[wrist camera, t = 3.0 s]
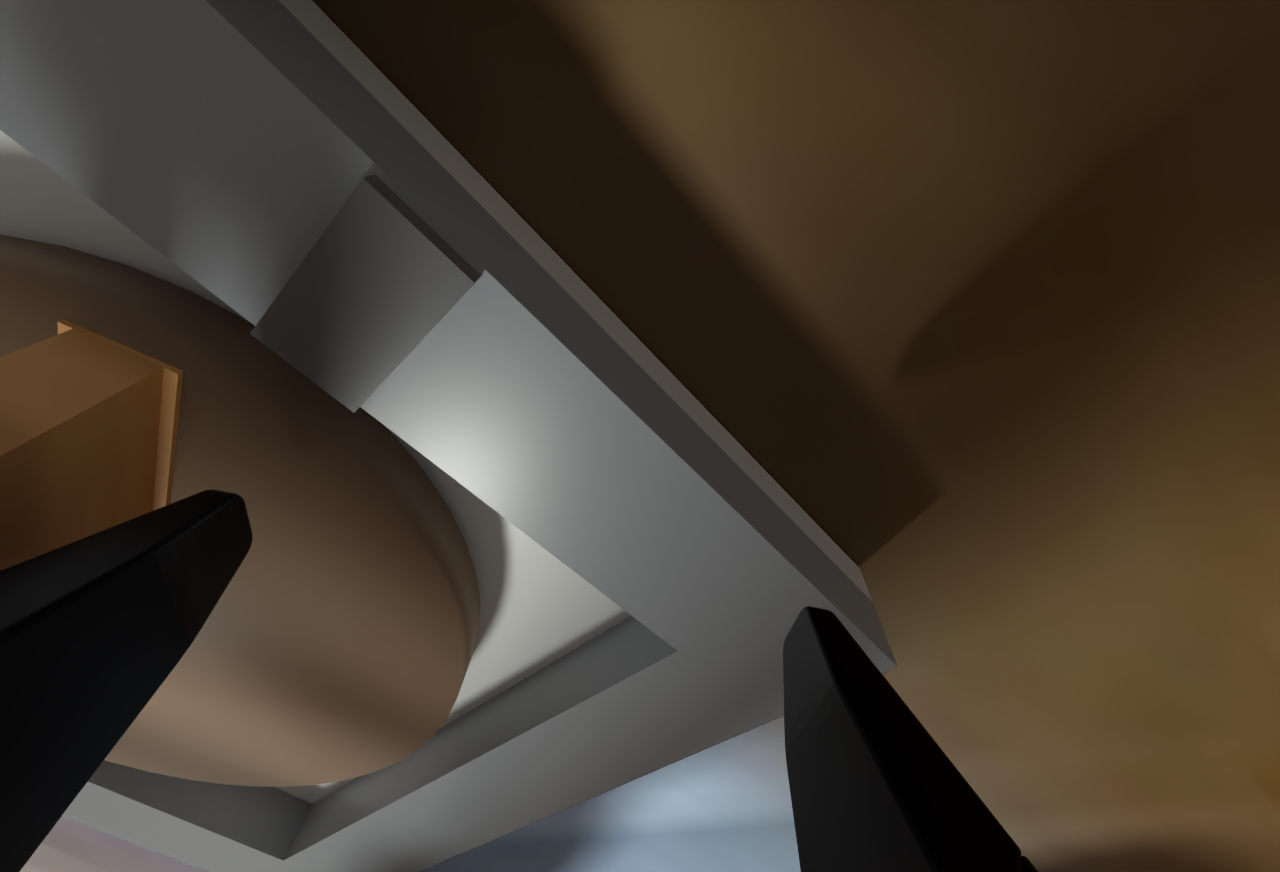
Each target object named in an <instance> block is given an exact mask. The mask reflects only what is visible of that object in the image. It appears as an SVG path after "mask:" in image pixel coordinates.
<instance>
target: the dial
mask: <svg viewBox="0 0 1280 872" xmlns="http://www.w3.org/2000/svg"><path fill="white" fill-rule="evenodd" d="M254 327H255V326H254V325H253V324H252V323H250V322H249V321H247V320H245V319H243V318H241V317H239V316H238V315H236V314H234V313H232V312H230V311H228V310H226V309H224V308H222V307H220V306H218V305H216V304H214V303H213V302H211V301H209V300H207V299H205V298H203V297H201V296H199V295H197V294H195V293H193V292H191V291H190V290H187V289H185V288H182V287H180V286H177V285H175V284H172V283H170V282H168V281H165V280H163V279H160V278H158V277H155V276H153V275H150V274H148V273H146V272H143V271H141V270H138V269H136V268H133V267H131V266H128V265H125V264H122V263H119V262H115V261H112V260H109V259H105V258H102V257H99V256H95V255H92V254H89V253H85V252H82V251H79V250H75V249H72V248H69V247H65V246H60V245H55V244H49V243H44V242H39V241H33V240H28V239H22V238H17V237H11V236H6V235H0V571H1V570H4V569H6V568H9V567H11V566H14V565H16V564H19V563H22V562H24V561H27V560H29V559H32V558H34V557H37V556H39V555H42V554H44V553H47V552H49V551H52V550H55V549H57V548H60V547H62V546H65V545H67V544H70V543H72V542H75V541H77V540H80V539H82V538H85V537H88V536H90V535H93V534H95V533H98V532H100V531H103V530H105V529H108V528H110V527H113V526H115V525H118V524H121V523H123V522H126V521H128V520H131V519H133V518H136V517H138V516H141V515H143V514H146V513H148V512H151V511H154V510H156V509H159V508H161V507H164V506H166V505H169V504H171V503H174V502H176V501H179V500H182V499H184V498H187V497H189V496H192V495H194V494H197V493H199V492H202V491H205V490H210V489H214V490H220V491H225V492H230V493H235V494H238V495H240V496H241V497H242V498H243V499H244V501H245V505H246V509H247V513H248V517H249V521H250V525H251V530H252V535H253V537H252V544H251V547H250V550H249V552H248V553H247V555H246V557H245V558H244V560H243V562H242V563H241V565H240V567H239V568H238V570H237V571H236V573H235V575H234V576H233V578H232V580H231V581H230V583H229V585H228V586H227V588H226V589H225V591H224V593H223V594H222V596H221V598H220V599H219V601H218V602H217V604H216V606H215V607H214V609H213V611H212V612H211V614H210V616H209V617H208V619H207V620H206V622H205V624H204V625H203V627H202V629H201V630H200V632H199V633H198V635H197V636H196V638H195V639H194V641H193V642H192V644H191V646H190V647H189V648H188V650H187V651H186V652H185V654H184V655H183V657H182V658H181V659H180V661H179V662H178V663H177V665H176V666H175V667H174V669H173V670H172V671H171V673H170V674H169V675H168V677H167V678H166V679H165V681H164V682H163V683H162V684H161V686H160V687H159V688H158V690H157V691H156V692H155V694H154V695H153V696H152V698H151V699H150V700H149V702H148V703H147V704H146V706H145V707H144V708H143V710H142V711H141V712H140V713H139V715H138V716H137V717H136V719H135V720H134V721H133V723H132V724H131V725H130V727H129V728H128V729H127V731H126V732H125V733H124V735H123V736H122V737H121V738H120V740H119V741H118V742H117V744H116V745H115V746H114V748H113V749H112V750H111V752H110V753H109V754H108V756H107V757H106V758H105V760H106V761H109V762H112V763H116V764H120V765H124V766H128V767H132V768H136V769H140V770H144V771H148V772H153V773H157V774H162V775H167V776H172V777H177V778H182V779H189V780H196V781H203V782H210V783H217V784H228V785H240V786H255V787H290V786H306V785H317V784H324V783H330V782H337V781H343V780H347V779H351V778H355V777H359V776H363V775H366V774H370V773H372V772H375V771H378V770H380V769H383V768H385V767H388V766H390V765H393V764H395V763H396V762H398V761H400V760H402V759H403V758H405V757H407V756H409V755H410V754H412V753H414V752H415V751H416V750H418V749H419V748H420V747H421V746H422V745H424V744H425V743H426V742H427V741H428V740H430V739H431V738H432V737H433V736H434V735H435V733H436V732H437V731H438V730H439V728H440V727H441V726H442V725H443V723H444V722H445V721H446V720H447V718H448V716H449V714H450V712H451V710H452V708H453V706H454V704H455V702H456V700H457V697H458V694H459V691H460V689H461V686H462V683H463V680H464V678H465V675H466V672H467V669H468V666H469V664H470V661H471V658H472V655H473V652H474V649H475V644H476V640H477V636H478V632H479V627H480V596H479V590H478V584H477V578H476V571H475V568H474V566H473V563H472V560H471V557H470V554H469V551H468V548H467V545H466V542H465V539H464V537H463V535H462V533H461V531H460V529H459V527H458V525H457V523H456V521H455V519H454V517H453V515H452V513H451V512H450V510H449V508H448V506H447V504H446V502H445V501H444V499H443V498H442V497H441V495H440V494H439V492H438V491H437V489H436V488H435V486H434V485H433V483H432V482H431V480H430V479H429V477H428V476H427V475H426V473H425V472H424V470H423V469H422V467H421V466H420V465H419V464H418V463H417V462H416V460H415V459H414V458H413V457H412V456H411V455H410V453H409V452H408V451H407V450H406V449H405V448H404V447H403V445H402V444H401V443H400V442H399V441H398V440H397V438H396V437H395V436H394V435H393V434H392V433H391V431H390V430H389V429H388V428H387V427H385V426H384V425H383V424H382V423H381V422H379V421H378V420H377V419H375V418H374V417H373V416H371V415H370V414H369V413H368V412H366V411H365V410H364V409H362V408H361V407H359V408H358V409H357V410H356V411H355V412H354V413H353V412H352V411H351V410H349V409H348V408H347V407H345V406H344V405H343V404H341V403H340V402H339V401H337V400H336V399H335V398H334V397H332V396H331V395H330V394H328V393H327V392H326V391H324V390H323V389H322V388H320V387H319V386H318V385H316V384H315V383H314V382H313V381H311V380H310V379H309V378H307V377H306V376H305V375H303V374H302V373H301V372H299V371H298V370H297V369H295V368H294V367H293V366H291V365H290V364H289V363H288V362H286V361H285V360H284V359H282V358H281V357H280V356H278V355H277V354H276V353H274V352H273V351H272V350H270V349H269V348H268V347H267V346H265V345H264V344H263V343H261V342H260V341H259V340H257V339H256V338H255V337H253V336H252V335H251V334H250V333H251V331H252V330H253V329H254Z"/></svg>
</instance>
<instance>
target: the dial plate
mask: <svg viewBox="0 0 1280 872" xmlns="http://www.w3.org/2000/svg"><path fill="white" fill-rule="evenodd" d="M0 235H6V236H11V237H17V238H22V239H28V240H33V241H39V242H44V243H49V244H55V245H60V246H65V247H69V248H72V249H75V250H79V251H82V252H85V253H89V254H92V255H95V256H99V257H102V258H105V259H109V260H112V261H115V262H119V263H122V264H125V265H128V266H131V267H133V268H136V269H138V270H141V271H143V272H146V273H148V274H150V275H153V276H155V277H158V278H160V279H163V280H165V281H168V282H170V283H172V284H175V285H177V286H180V287H182V288H185V289H187V290H190V291H191V292H193V293H195V294H197V295H199V296H201V297H203V298H205V299H207V300H209V301H211V302H213V303H214V304H216V305H218V306H220V307H222V308H224V309H226V310H228V311H230V312H232V313H234V314H236V315H238V316H239V317H241V318H243V319H245V320H247V321H249V322H250V323H252V324H253V325H254V326H255V327H254V329H253V330H252V331H251V333H250V334H251V335H252V336H253V337H255V338H256V339H257V340H259V341H260V342H261V343H263V344H264V345H265V346H267V347H268V348H269V349H270V350H272V351H273V352H274V353H276V354H277V355H278V356H280V357H281V358H282V359H284V360H285V361H286V362H288V363H289V364H290V365H291V366H293V367H294V368H295V369H297V370H298V371H299V372H301V373H302V374H303V375H305V376H306V377H307V378H309V379H310V380H311V381H313V382H314V383H315V384H316V385H318V386H319V387H320V388H322V389H323V390H324V391H326V392H327V393H328V394H330V395H331V396H332V397H334V398H335V399H336V400H337V401H339V402H340V403H341V404H343V405H344V406H345V407H347V408H348V409H349V410H351V411H352V412H353V413H354V412H355V411H356V410H357V409H358V408H359V407H361V408H362V409H364V410H365V411H366V412H368V413H369V414H370V415H371V416H373V417H374V418H375V419H377V420H378V421H379V422H381V423H382V424H383V425H384V426H385V427H387V428H388V429H389V430H390V431H391V433H392V434H393V435H394V436H395V437H396V438H397V440H398V441H399V442H400V443H401V444H402V445H403V447H404V448H405V449H406V450H407V451H408V452H409V453H410V455H411V456H412V457H413V458H414V459H415V460H416V462H417V463H418V464H419V465H420V466H421V467H422V469H423V470H424V472H425V473H426V475H427V476H428V477H429V479H430V480H431V482H432V483H433V485H434V486H435V488H436V489H437V491H438V492H439V494H440V495H441V497H442V498H443V499H444V501H445V502H446V504H447V506H448V508H449V510H450V512H451V513H452V515H453V517H454V519H455V521H456V523H457V525H458V527H459V529H460V531H461V533H462V535H463V537H464V539H465V542H466V545H467V548H468V551H469V554H470V557H471V560H472V563H473V566H474V568H475V571H476V578H477V584H478V590H479V596H480V627H479V632H478V636H477V640H476V644H475V649H474V652H473V655H472V658H471V661H470V664H469V666H468V669H467V672H466V675H465V678H464V680H463V683H462V686H461V689H460V691H459V694H458V697H457V700H456V702H455V704H454V706H453V708H452V710H451V712H450V714H449V716H448V718H447V720H446V721H445V722H444V723H443V725H442V726H441V727H440V728H439V730H438V731H437V732H436V733H435V735H434V736H433V737H432V738H431V739H430V740H428V741H427V742H426V743H425V744H424V745H422V746H421V747H420V748H419V749H418V750H416V751H415V752H414V753H412V754H410V755H409V756H407V757H405V758H403V759H402V760H400V761H398V762H396V763H395V764H393V765H390V766H388V767H385V768H383V769H380V770H378V771H375V772H372V773H370V774H366V775H363V776H359V777H355V778H351V779H347V780H343V781H337V782H330V783H324V784H317V785H306V786H290V787H255V786H240V785H228V784H217V783H210V782H203V781H196V780H189V779H182V778H177V777H172V776H167V775H162V774H157V773H153V772H148V771H144V770H140V769H136V768H132V767H128V766H124V765H120V764H116V763H112V762H109V761H106V760H104V761H103V762H102V764H101V765H100V766H99V767H98V769H97V770H96V771H95V773H94V774H93V775H92V777H91V778H90V779H89V781H88V782H87V783H86V785H85V786H84V787H83V789H82V790H81V791H80V792H79V794H78V795H77V796H76V798H75V799H74V800H73V802H72V803H71V804H70V806H69V807H68V808H67V810H66V811H65V812H64V814H63V815H62V816H61V817H63V818H66V819H69V820H71V821H74V822H77V823H79V824H82V825H85V826H87V827H90V828H93V829H95V830H98V831H101V832H103V833H106V834H109V835H111V836H114V837H117V838H119V839H122V840H124V841H127V842H130V843H132V844H135V845H138V846H140V847H143V848H146V849H148V850H151V851H154V852H156V853H159V854H162V855H164V856H167V857H170V858H172V859H175V860H178V861H180V862H183V863H186V864H188V865H191V866H193V867H196V868H199V869H201V870H204V871H207V872H420V871H422V870H425V869H427V868H429V867H432V866H434V865H436V864H439V863H441V862H443V861H446V860H448V859H450V858H453V857H455V856H457V855H460V854H462V853H464V852H467V851H469V850H471V849H474V848H476V847H478V846H481V845H483V844H485V843H488V842H490V841H492V840H495V839H497V838H499V837H502V836H504V835H506V834H509V833H511V832H513V831H516V830H518V829H520V828H523V827H525V826H527V825H530V824H532V823H534V822H537V821H539V820H541V819H544V818H546V817H548V816H551V815H553V814H555V813H558V812H560V811H562V810H565V809H567V808H569V807H572V806H574V805H576V804H579V803H581V802H583V801H586V800H588V799H590V798H593V797H595V796H597V795H600V794H602V793H604V792H607V791H609V790H611V789H614V788H616V787H618V786H621V785H623V784H625V783H628V782H630V781H632V780H635V779H637V778H639V777H642V776H644V775H646V774H649V773H651V772H653V771H656V770H658V769H660V768H663V767H665V766H667V765H670V764H672V763H674V762H677V761H679V760H681V759H684V758H686V757H688V756H691V755H693V754H695V753H698V752H700V751H702V750H705V749H707V748H709V747H712V746H714V745H716V744H719V743H721V742H723V741H726V740H728V739H730V738H733V737H735V736H737V735H740V734H742V733H744V732H747V731H749V730H751V729H754V728H756V727H758V726H761V725H763V724H765V723H768V722H770V721H772V720H775V719H777V718H779V717H782V716H784V686H783V645H784V641H785V638H786V636H787V634H788V632H789V631H790V629H791V627H792V625H793V623H794V622H795V620H796V618H797V616H798V615H799V613H800V611H801V610H802V609H803V608H804V607H806V606H811V607H816V608H821V609H826V610H829V611H831V612H833V613H834V614H835V615H836V616H837V618H838V619H839V620H840V622H841V623H842V624H843V625H844V627H845V628H846V629H847V630H848V632H849V633H850V634H851V635H852V637H853V638H854V639H855V641H856V642H857V643H858V644H859V646H860V647H861V648H862V649H863V651H864V652H865V653H866V654H867V656H868V657H869V658H870V660H871V661H872V662H873V663H874V665H875V666H876V667H877V668H878V670H879V671H880V672H881V673H884V672H887V671H889V670H891V669H894V668H896V667H898V666H897V664H896V661H895V658H894V656H893V653H892V651H891V648H890V646H889V643H888V640H887V638H886V635H885V633H884V630H883V627H882V625H881V622H880V620H879V617H878V615H877V612H876V609H875V607H874V604H873V602H872V599H871V596H870V594H869V591H868V589H867V586H866V584H865V581H864V578H863V576H862V573H861V571H860V568H859V567H858V566H857V565H856V564H855V563H854V562H853V561H852V560H851V559H850V558H849V557H848V556H847V555H846V554H845V553H844V552H843V551H842V550H841V548H840V547H839V546H838V545H837V544H836V543H835V542H834V541H833V540H832V539H831V538H830V537H829V536H828V535H827V534H826V533H825V532H824V531H823V530H822V529H821V528H820V527H819V526H818V525H817V524H816V523H815V522H814V520H813V519H812V518H811V517H810V516H809V515H808V514H807V513H806V512H805V511H804V510H803V509H802V508H801V507H800V506H799V505H798V504H797V503H796V502H795V501H794V500H793V499H792V498H791V497H790V496H789V495H788V493H787V492H786V491H785V490H784V489H783V488H782V487H781V486H780V485H779V484H778V483H777V482H776V481H775V480H774V479H773V478H772V477H771V476H770V475H769V474H768V473H767V472H766V471H765V470H764V469H763V468H762V467H761V465H760V464H759V463H758V462H757V461H756V460H755V459H754V458H753V457H752V456H751V455H750V454H749V453H748V452H747V451H746V450H745V449H744V448H743V447H742V446H741V445H740V444H739V443H738V442H737V441H736V440H735V439H734V437H733V436H732V435H731V434H730V433H729V432H728V431H727V430H726V429H725V428H724V427H723V426H722V425H721V424H720V423H719V422H718V421H717V420H716V419H715V418H714V417H713V416H712V415H711V414H710V413H709V412H708V411H707V409H706V408H705V407H704V406H703V405H702V404H701V403H700V402H699V401H698V400H697V399H696V398H695V397H694V396H693V395H692V394H691V393H690V392H689V391H688V390H687V389H686V388H685V387H684V386H683V385H682V384H681V382H680V381H679V380H678V379H677V378H676V377H675V376H674V375H673V374H672V373H671V372H670V371H669V370H668V369H667V368H666V367H665V366H664V365H663V364H662V363H661V362H660V361H659V360H658V359H657V358H656V357H655V356H654V354H653V353H652V352H651V351H650V350H649V349H648V348H647V347H646V346H645V345H644V344H643V343H642V342H641V341H640V340H639V339H638V338H637V337H636V336H635V335H634V334H633V333H632V332H631V331H630V330H629V329H628V328H627V326H626V325H625V324H624V323H623V322H622V321H621V320H620V319H619V318H618V317H617V316H616V315H615V314H614V313H613V312H612V311H611V310H610V309H609V308H608V307H607V306H606V305H605V304H604V303H603V302H602V301H601V299H600V298H599V297H598V296H597V295H596V294H595V293H594V292H593V291H592V290H591V289H590V288H589V287H588V286H587V285H586V284H585V283H584V282H583V281H582V280H581V279H580V278H579V277H578V276H577V275H576V274H575V273H574V271H573V270H572V269H571V268H570V267H569V266H568V265H567V264H566V263H565V262H564V261H563V260H562V259H561V258H560V257H559V256H558V255H557V254H556V253H555V252H554V251H553V250H552V249H551V248H550V247H549V246H548V245H547V243H546V242H545V241H544V240H543V239H542V238H541V237H540V236H539V235H538V234H537V233H536V232H535V231H534V230H533V229H532V228H531V227H530V226H529V225H528V224H527V223H526V222H525V221H524V220H523V219H522V218H521V216H520V215H519V214H518V213H517V212H516V211H515V210H514V209H513V208H512V207H511V206H510V205H509V204H508V203H507V202H506V201H505V200H504V199H503V198H502V197H501V196H500V195H499V194H498V193H497V192H496V191H495V190H494V188H493V187H492V186H491V185H490V184H489V183H488V182H487V181H486V180H485V179H484V178H483V177H482V176H481V175H480V174H479V173H478V172H477V171H476V170H475V169H474V168H473V167H472V166H471V165H470V164H469V163H468V162H467V160H466V159H465V158H464V157H463V156H462V155H461V154H460V153H459V152H458V151H457V150H456V149H455V148H454V147H453V146H452V145H451V144H450V143H449V142H448V141H447V140H446V139H445V138H444V137H443V136H442V135H441V134H440V132H439V131H438V130H437V129H436V128H435V127H434V126H433V125H432V124H431V123H430V122H429V121H428V120H427V119H426V118H425V117H424V116H423V115H422V114H421V113H420V112H419V111H418V110H417V109H416V108H415V107H414V105H413V104H412V103H411V102H410V101H409V100H408V99H407V98H406V97H405V96H404V95H403V94H402V93H401V92H400V91H399V90H398V89H397V88H396V87H395V86H394V85H393V84H392V83H391V82H390V81H389V80H388V79H387V77H386V76H385V75H384V74H383V73H382V72H381V71H380V70H379V69H378V68H377V67H376V66H375V65H374V64H373V63H372V62H371V61H370V60H369V59H368V58H367V57H366V56H365V55H364V54H363V53H362V52H361V51H360V49H359V48H358V47H357V46H356V45H355V44H354V43H353V42H352V41H351V40H350V39H349V38H348V37H347V36H346V35H345V34H344V33H343V32H342V31H341V30H340V29H339V28H338V27H337V26H336V25H335V24H334V22H333V21H332V20H331V19H330V18H329V17H328V16H327V15H326V14H325V13H324V12H323V11H322V10H321V9H320V8H319V7H318V6H317V5H316V4H315V3H314V2H313V1H312V0H0Z"/></svg>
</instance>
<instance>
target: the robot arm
mask: <svg viewBox="0 0 1280 872" xmlns="http://www.w3.org/2000/svg"><path fill="white" fill-rule="evenodd" d="M252 537H253V535H252V530H251V525H250V521H249V517H248V513H247V509H246V505H245V501H244V499H243V498H242V497H241V496H240V495H238V494H235V493H230V492H225V491H220V490H214V489H210V490H205V491H202V492H199V493H197V494H194V495H192V496H189V497H187V498H184V499H182V500H179V501H176V502H174V503H171V504H169V505H166V506H164V507H161V508H159V509H156V510H154V511H151V512H148V513H146V514H143V515H141V516H138V517H136V518H133V519H131V520H128V521H126V522H123V523H121V524H118V525H115V526H113V527H110V528H108V529H105V530H103V531H100V532H98V533H95V534H93V535H90V536H88V537H85V538H82V539H80V540H77V541H75V542H72V543H70V544H67V545H65V546H62V547H60V548H57V549H55V550H52V551H49V552H47V553H44V554H42V555H39V556H37V557H34V558H32V559H29V560H27V561H24V562H22V563H19V564H16V565H14V566H11V567H9V568H6V569H4V570H1V571H0V872H20V870H21V869H22V868H23V866H24V865H25V864H26V862H27V861H28V860H29V858H30V857H31V856H32V854H33V853H34V852H35V850H36V849H37V848H38V846H39V845H40V844H41V843H42V841H43V840H44V839H45V837H46V836H47V835H48V833H49V832H50V831H51V829H52V828H53V827H54V825H55V824H56V823H57V821H58V820H59V819H60V818H61V816H62V815H63V814H64V812H65V811H66V810H67V808H68V807H69V806H70V804H71V803H72V802H73V800H74V799H75V798H76V796H77V795H78V794H79V792H80V791H81V790H82V789H83V787H84V786H85V785H86V783H87V782H88V781H89V779H90V778H91V777H92V775H93V774H94V773H95V771H96V770H97V769H98V767H99V766H100V765H101V764H102V762H103V761H104V760H105V758H106V757H107V756H108V754H109V753H110V752H111V750H112V749H113V748H114V746H115V745H116V744H117V742H118V741H119V740H120V738H121V737H122V736H123V735H124V733H125V732H126V731H127V729H128V728H129V727H130V725H131V724H132V723H133V721H134V720H135V719H136V717H137V716H138V715H139V713H140V712H141V711H142V710H143V708H144V707H145V706H146V704H147V703H148V702H149V700H150V699H151V698H152V696H153V695H154V694H155V692H156V691H157V690H158V688H159V687H160V686H161V684H162V683H163V682H164V681H165V679H166V678H167V677H168V675H169V674H170V673H171V671H172V670H173V669H174V667H175V666H176V665H177V663H178V662H179V661H180V659H181V658H182V657H183V655H184V654H185V652H186V651H187V650H188V648H189V647H190V646H191V644H192V642H193V641H194V639H195V638H196V636H197V635H198V633H199V632H200V630H201V629H202V627H203V625H204V624H205V622H206V620H207V619H208V617H209V616H210V614H211V612H212V611H213V609H214V607H215V606H216V604H217V602H218V601H219V599H220V598H221V596H222V594H223V593H224V591H225V589H226V588H227V586H228V585H229V583H230V581H231V580H232V578H233V576H234V575H235V573H236V571H237V570H238V568H239V567H240V565H241V563H242V562H243V560H244V558H245V557H246V555H247V553H248V552H249V550H250V547H251V544H252ZM783 686H784V724H785V749H786V761H787V770H788V778H789V785H790V793H791V800H792V808H793V815H794V823H795V830H796V838H797V845H798V853H799V861H800V868H801V872H1038V871H1037V870H1036V868H1035V867H1034V866H1033V865H1032V863H1031V862H1030V861H1029V859H1028V858H1027V857H1025V856H1021V850H1020V848H1019V847H1018V846H1017V845H1016V843H1015V842H1014V841H1013V839H1012V838H1011V837H1010V836H1009V834H1008V833H1007V832H1006V831H1005V829H1004V828H1003V827H1002V826H1001V824H1000V823H999V822H998V820H997V819H996V818H995V817H994V815H993V814H992V813H991V812H990V810H989V809H988V808H987V807H986V805H985V804H984V803H983V801H982V800H981V799H980V798H979V796H978V795H977V794H976V793H975V791H974V790H973V789H972V788H971V786H970V785H969V784H968V782H967V781H966V780H965V779H964V777H963V776H962V775H961V774H960V772H959V771H958V770H957V769H956V767H955V766H954V765H953V763H952V762H951V761H950V760H949V758H948V757H947V756H946V755H945V753H944V752H943V751H942V750H941V748H940V747H939V746H938V744H937V743H936V742H935V741H934V739H933V738H932V737H931V736H930V734H929V733H928V732H927V730H926V729H925V728H924V727H923V725H922V724H921V723H920V722H919V720H918V719H917V718H916V717H915V715H914V714H913V713H912V711H911V710H910V709H909V708H908V706H907V705H906V704H905V703H904V701H903V700H902V699H901V698H900V696H899V695H898V694H897V692H896V691H895V690H894V689H893V687H892V686H891V685H890V684H889V682H888V681H887V680H886V679H885V677H884V676H883V675H882V673H881V672H880V671H879V670H878V668H877V667H876V666H875V665H874V663H873V662H872V661H871V660H870V658H869V657H868V656H867V654H866V653H865V652H864V651H863V649H862V648H861V647H860V646H859V644H858V643H857V642H856V641H855V639H854V638H853V637H852V635H851V634H850V633H849V632H848V630H847V629H846V628H845V627H844V625H843V624H842V623H841V622H840V620H839V619H838V618H837V616H836V615H835V614H834V613H833V612H831V611H829V610H826V609H821V608H816V607H811V606H806V607H804V608H803V609H802V610H801V611H800V613H799V615H798V616H797V618H796V620H795V622H794V623H793V625H792V627H791V629H790V631H789V632H788V634H787V636H786V638H785V641H784V645H783Z"/></svg>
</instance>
